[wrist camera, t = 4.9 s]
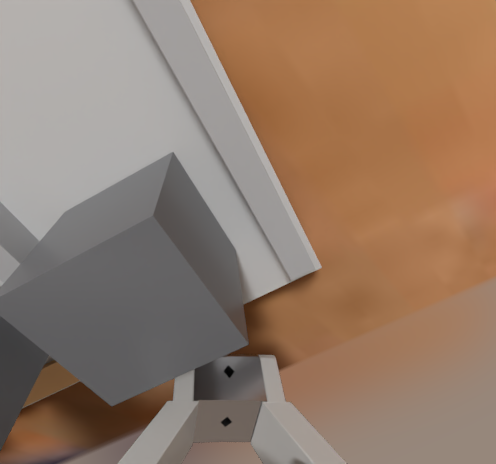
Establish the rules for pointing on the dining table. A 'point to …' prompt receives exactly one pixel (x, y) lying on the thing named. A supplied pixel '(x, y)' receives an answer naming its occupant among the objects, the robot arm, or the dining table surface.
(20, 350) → the grey cubic block
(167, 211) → the grey cube
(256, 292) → the switch board
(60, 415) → the dining table surface
